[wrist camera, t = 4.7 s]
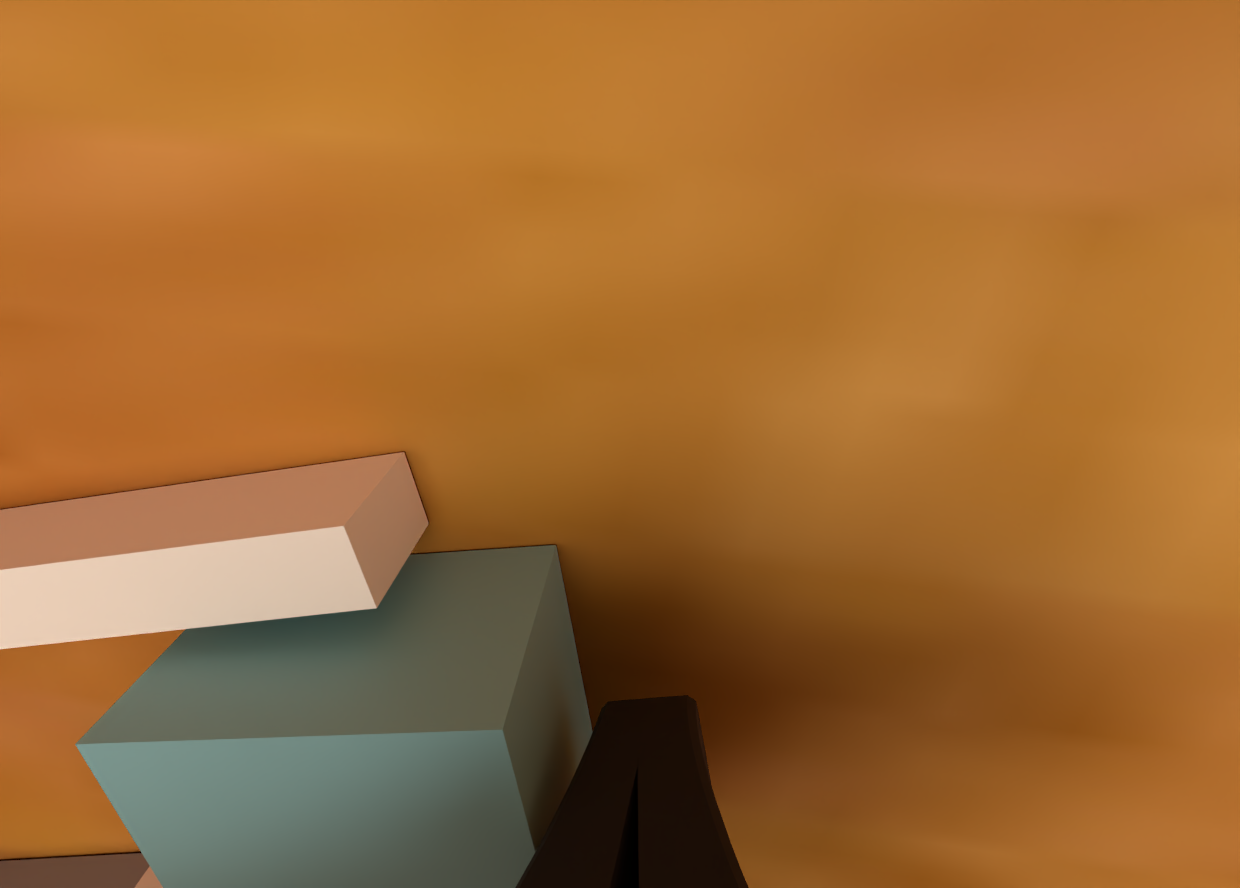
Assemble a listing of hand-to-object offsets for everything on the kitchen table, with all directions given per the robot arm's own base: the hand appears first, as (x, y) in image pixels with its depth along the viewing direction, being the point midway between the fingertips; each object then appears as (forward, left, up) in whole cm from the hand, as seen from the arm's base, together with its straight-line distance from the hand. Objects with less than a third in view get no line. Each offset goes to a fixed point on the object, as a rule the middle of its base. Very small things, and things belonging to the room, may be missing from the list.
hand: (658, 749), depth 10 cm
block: (0, +4, -1) cm, 4 cm away
